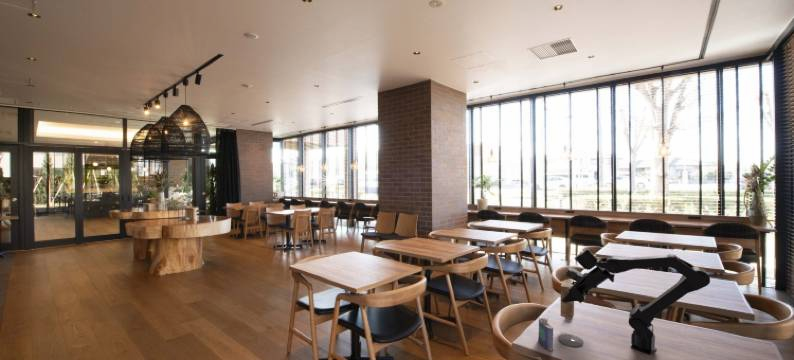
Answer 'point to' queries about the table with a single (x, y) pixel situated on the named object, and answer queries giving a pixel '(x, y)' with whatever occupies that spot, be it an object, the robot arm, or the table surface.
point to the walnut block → (566, 307)
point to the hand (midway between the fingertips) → (563, 299)
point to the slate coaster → (570, 340)
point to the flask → (545, 334)
